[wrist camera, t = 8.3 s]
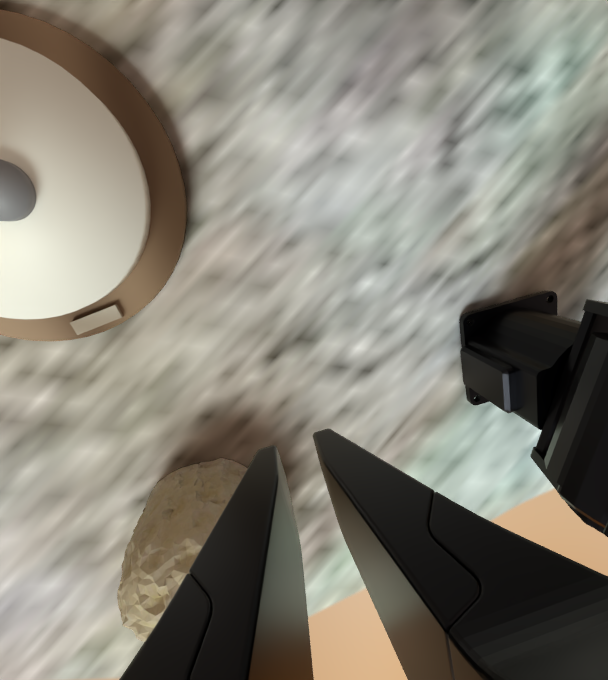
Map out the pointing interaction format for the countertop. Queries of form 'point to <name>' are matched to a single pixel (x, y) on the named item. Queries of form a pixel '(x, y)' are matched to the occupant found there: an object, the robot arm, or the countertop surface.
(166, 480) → the sponge
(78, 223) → the dial
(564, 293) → the countertop surface
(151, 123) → the base
